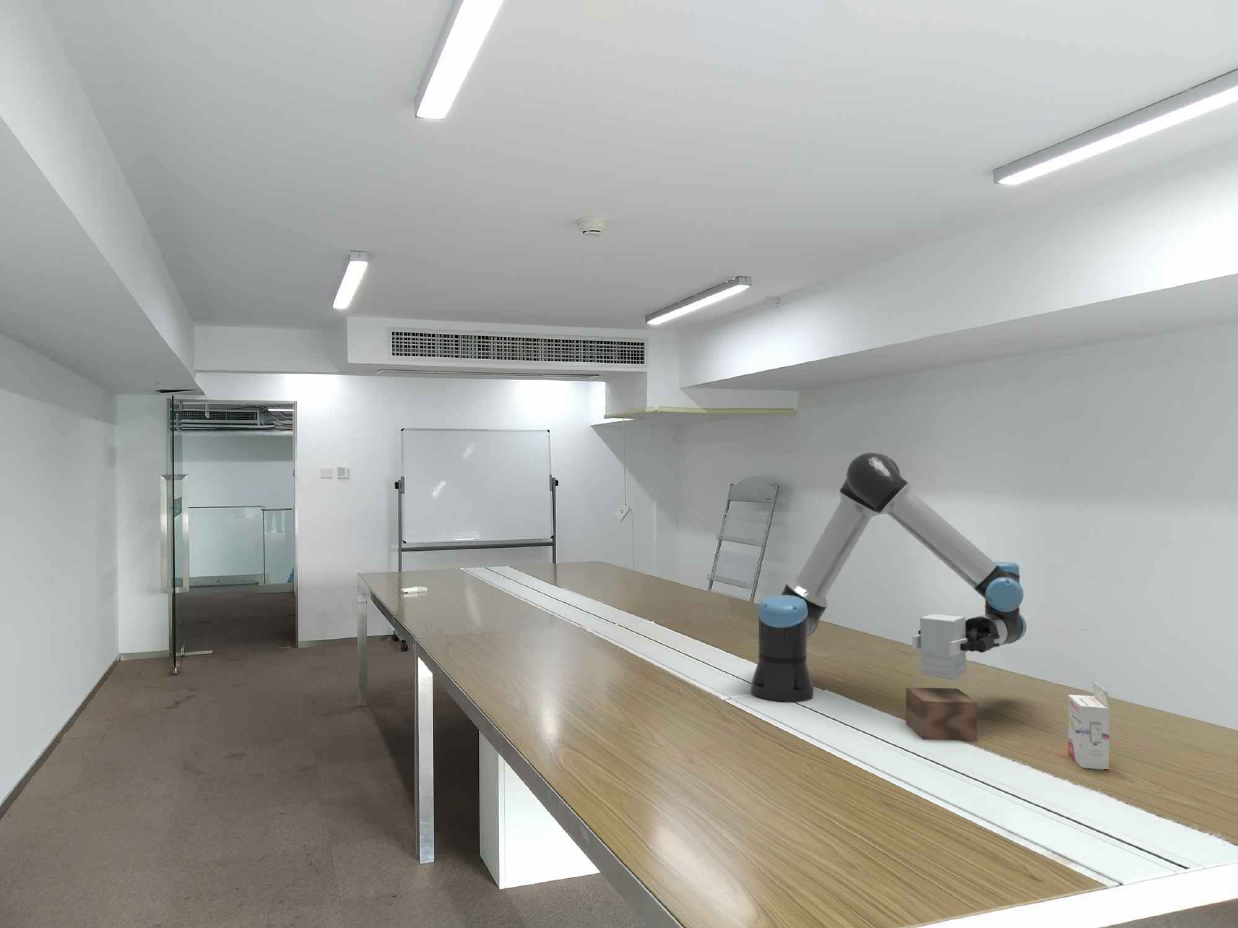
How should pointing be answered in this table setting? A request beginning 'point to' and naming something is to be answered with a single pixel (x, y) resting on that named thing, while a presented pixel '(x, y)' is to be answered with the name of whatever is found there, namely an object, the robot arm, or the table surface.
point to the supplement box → (942, 646)
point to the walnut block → (941, 713)
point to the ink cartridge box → (1089, 729)
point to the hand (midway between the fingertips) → (932, 645)
